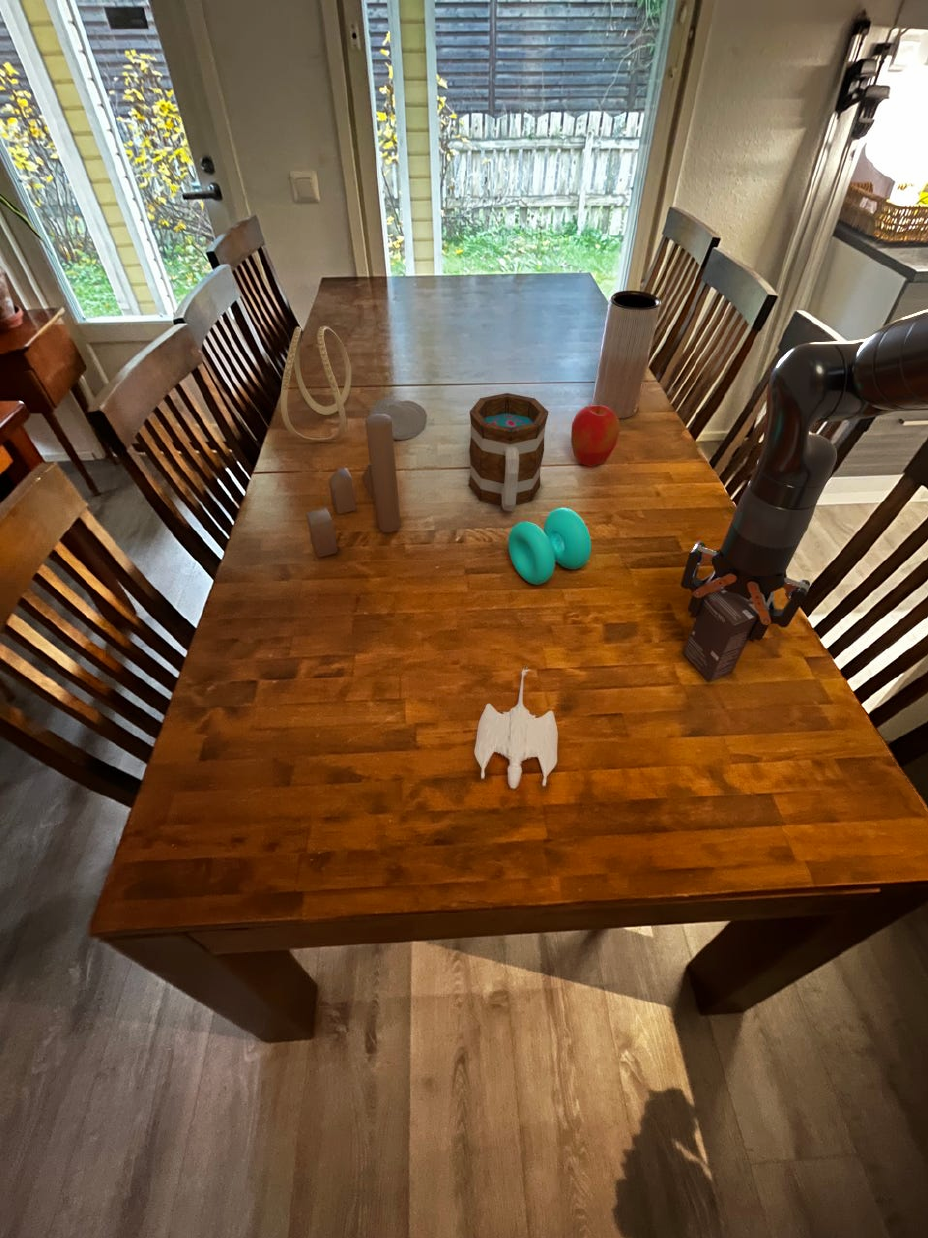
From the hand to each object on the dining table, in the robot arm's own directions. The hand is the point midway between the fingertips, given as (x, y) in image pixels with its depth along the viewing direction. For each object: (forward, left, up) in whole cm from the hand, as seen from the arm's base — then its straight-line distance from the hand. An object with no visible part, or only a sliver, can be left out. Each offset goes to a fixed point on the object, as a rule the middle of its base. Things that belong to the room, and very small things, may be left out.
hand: (723, 625), depth 82 cm
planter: (+41, -61, -8) cm, 74 cm away
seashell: (+75, -27, -8) cm, 80 cm away
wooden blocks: (+64, +1, -8) cm, 65 cm away
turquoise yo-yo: (+28, -5, -8) cm, 30 cm away
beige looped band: (+88, -19, -8) cm, 91 cm away
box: (0, 0, -8) cm, 8 cm away
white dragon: (+16, +25, -8) cm, 31 cm away
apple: (+36, -38, -8) cm, 53 cm away
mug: (+44, -19, -8) cm, 49 cm away
